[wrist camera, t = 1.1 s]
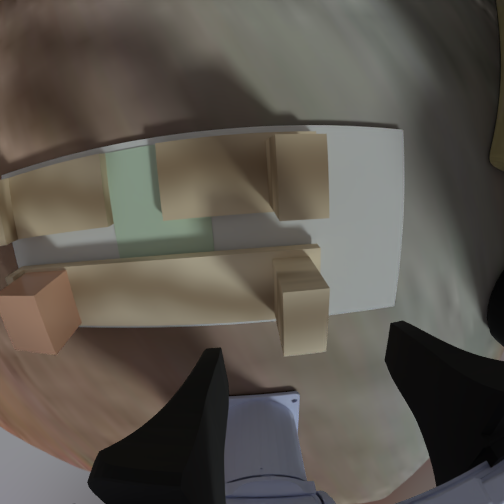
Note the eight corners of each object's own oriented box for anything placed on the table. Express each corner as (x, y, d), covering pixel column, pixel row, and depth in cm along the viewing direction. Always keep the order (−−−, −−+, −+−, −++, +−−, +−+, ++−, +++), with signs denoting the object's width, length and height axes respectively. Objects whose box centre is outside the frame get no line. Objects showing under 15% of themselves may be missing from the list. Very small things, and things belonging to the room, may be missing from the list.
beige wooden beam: (315, 308, 22) (338, 356, 16) (38, 318, 21) (3, 354, 16) (316, 243, 20) (345, 277, 15) (22, 266, 20) (-21, 295, 14)
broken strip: (315, 206, 20) (344, 227, 14) (17, 236, 19) (-28, 260, 14) (312, 132, 18) (342, 123, 13) (8, 178, 18) (-41, 190, 12)
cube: (81, 322, 21) (56, 355, 16) (41, 321, 20) (15, 349, 16) (66, 270, 19) (34, 295, 15) (26, 272, 19) (-7, 295, 15)
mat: (392, 303, 23) (394, 306, 23) (39, 323, 22) (36, 325, 22) (400, 130, 19) (403, 129, 18) (4, 174, 18) (0, 175, 18)
